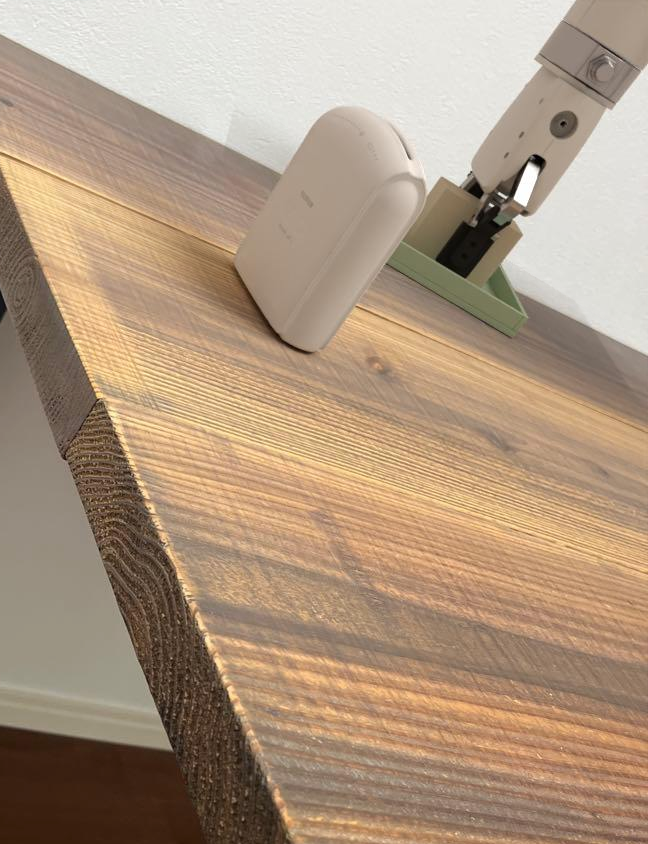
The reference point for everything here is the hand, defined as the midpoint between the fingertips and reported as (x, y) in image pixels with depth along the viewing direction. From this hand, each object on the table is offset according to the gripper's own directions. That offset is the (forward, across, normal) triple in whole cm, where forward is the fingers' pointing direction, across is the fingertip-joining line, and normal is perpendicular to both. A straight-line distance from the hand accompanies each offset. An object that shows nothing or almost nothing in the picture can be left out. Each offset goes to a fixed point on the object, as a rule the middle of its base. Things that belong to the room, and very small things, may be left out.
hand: (444, 255), depth 93 cm
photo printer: (+2, -32, +17) cm, 36 cm away
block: (+1, 0, 0) cm, 1 cm away
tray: (+1, 0, 0) cm, 1 cm away
